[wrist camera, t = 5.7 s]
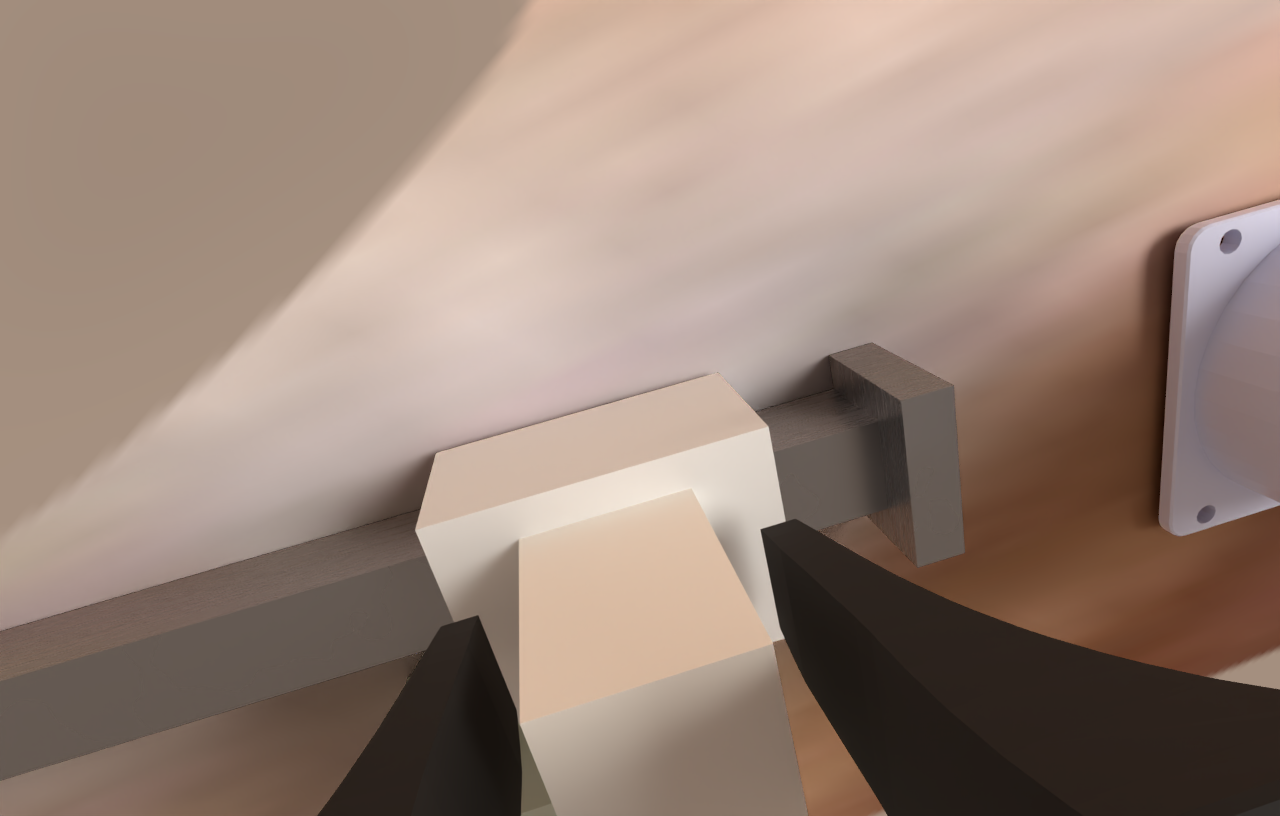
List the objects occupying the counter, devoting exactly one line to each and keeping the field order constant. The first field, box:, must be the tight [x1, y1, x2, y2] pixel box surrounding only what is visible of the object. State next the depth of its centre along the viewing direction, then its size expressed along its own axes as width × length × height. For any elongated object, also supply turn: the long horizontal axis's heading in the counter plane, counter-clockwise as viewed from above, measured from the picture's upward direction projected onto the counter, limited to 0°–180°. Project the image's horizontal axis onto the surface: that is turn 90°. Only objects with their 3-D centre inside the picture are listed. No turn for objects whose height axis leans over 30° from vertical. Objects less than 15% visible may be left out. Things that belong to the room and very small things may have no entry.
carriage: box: [415, 372, 808, 816], centre depth 12 cm, size 6×4×7 cm
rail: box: [0, 343, 965, 780], centre depth 13 cm, size 24×4×3 cm, turn 104°
